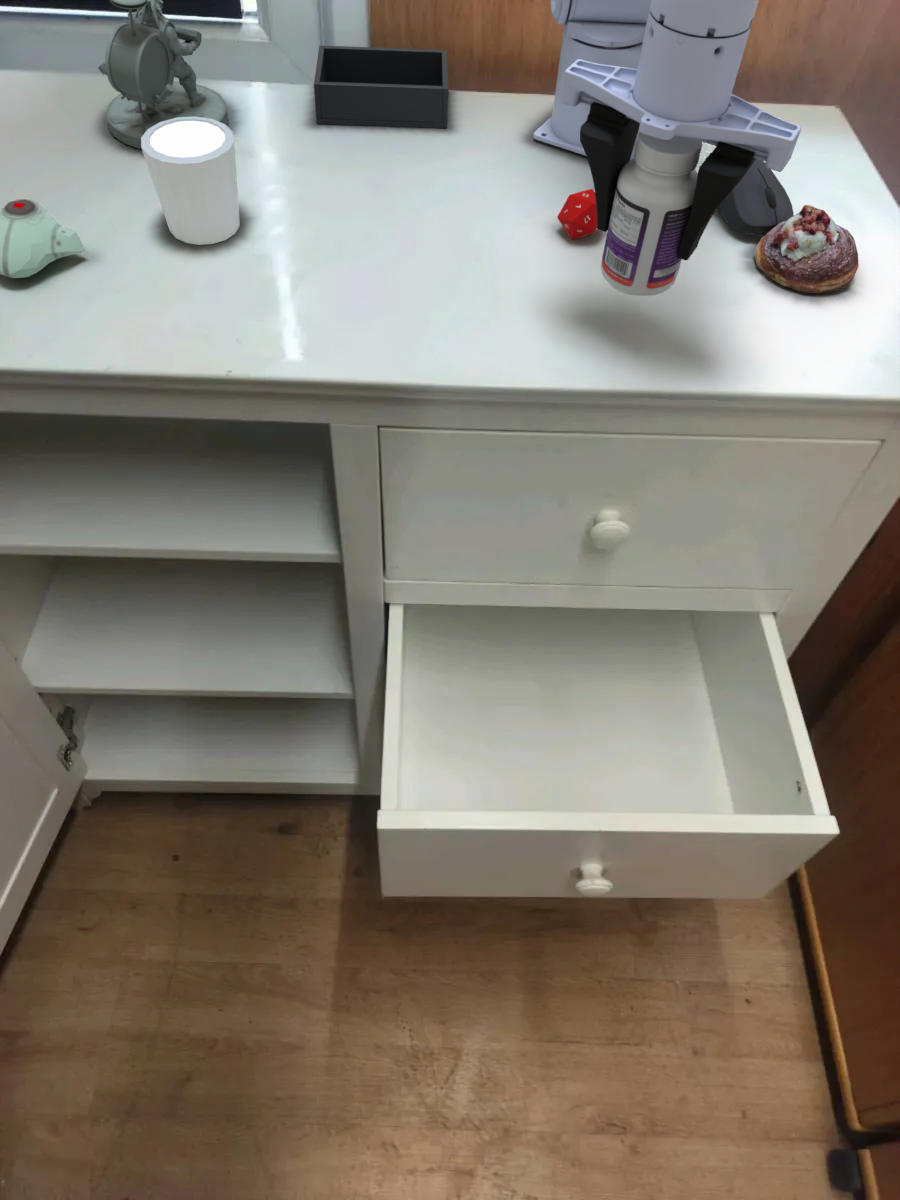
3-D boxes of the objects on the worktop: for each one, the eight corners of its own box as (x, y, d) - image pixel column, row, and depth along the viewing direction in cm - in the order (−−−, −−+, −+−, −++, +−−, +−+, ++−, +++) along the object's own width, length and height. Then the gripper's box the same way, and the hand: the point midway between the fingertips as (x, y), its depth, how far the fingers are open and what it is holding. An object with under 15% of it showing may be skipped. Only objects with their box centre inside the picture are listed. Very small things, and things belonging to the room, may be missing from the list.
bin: (445, 88, 86) (447, 49, 83) (446, 128, 82) (448, 88, 79) (322, 84, 86) (319, 45, 83) (316, 124, 81) (313, 84, 79)
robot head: (67, 301, 66) (97, 241, 69) (49, 256, 62) (81, 194, 66) (-38, 285, 66) (-3, 226, 69) (-62, 239, 63) (-24, 179, 66)
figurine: (249, 107, 83) (227, -43, 73) (190, 163, 77) (158, 7, 67) (149, 84, 84) (115, -66, 75) (84, 136, 78) (38, -19, 69)
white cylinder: (144, 236, 70) (121, 148, 64) (190, 193, 74) (172, 106, 68) (220, 258, 69) (203, 170, 63) (263, 213, 73) (251, 127, 67)
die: (546, 208, 73) (567, 185, 69) (581, 199, 74) (604, 176, 70) (560, 250, 73) (583, 230, 69) (595, 240, 74) (619, 220, 71)
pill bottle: (673, 256, 64) (711, 120, 56) (677, 302, 61) (717, 165, 53) (599, 249, 64) (626, 112, 56) (598, 294, 61) (628, 156, 53)
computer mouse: (741, 245, 73) (757, 199, 69) (684, 186, 77) (697, 140, 74) (799, 233, 74) (817, 187, 71) (739, 176, 79) (754, 131, 76)
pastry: (737, 267, 71) (758, 208, 67) (778, 228, 75) (800, 170, 71) (830, 308, 68) (857, 250, 64) (867, 266, 72) (895, 208, 68)
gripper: (552, 7, 49) (525, 231, 60) (806, 80, 45) (726, 304, 56) (604, -35, 53) (569, 184, 64) (843, 29, 49) (761, 250, 60)
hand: (645, 237), depth 60 cm, fingers closed on pill bottle, 5 cm apart
